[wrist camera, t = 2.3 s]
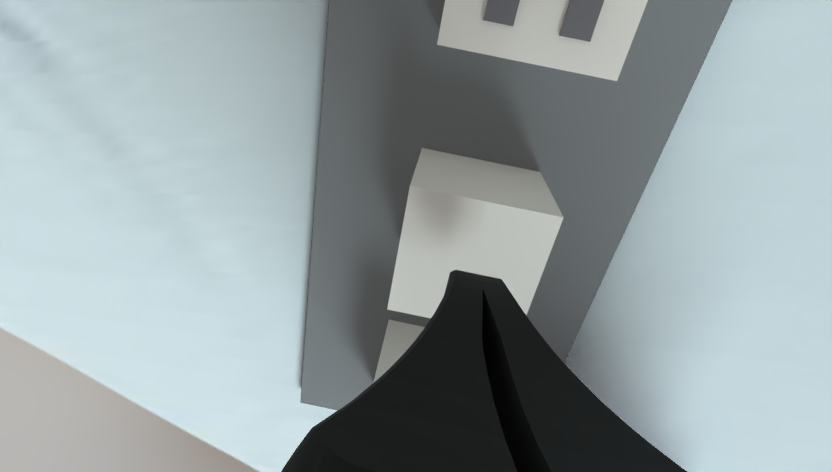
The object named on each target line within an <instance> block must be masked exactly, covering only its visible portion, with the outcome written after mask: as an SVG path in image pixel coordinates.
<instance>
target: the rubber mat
mask: <svg viewBox="0 0 832 472" xmlns="http://www.w3.org/2000/svg"><path fill="white" fill-rule="evenodd" d="M731 2H732V0H648V1H647V4H646V7H645V9H644V12H643V15H642V17H641V20H640V22H639V25H638V28H637V30H636V33H635V35H634V38H633V41H632V43H631V46H630V48H629V51H628V54H627V56H626V59H625V62H624V64H623V67H622V69H621V72H620V75H619V77H618V80H617V81H613V80H608V79H603V78H599V77H594V76H589V75H584V74H579V73H574V72H569V71H564V70H559V69H554V68H549V67H544V66H539V65H535V64H530V63H525V62H520V61H515V60H510V59H505V58H500V57H495V56H490V55H485V54H480V53H476V52H471V51H466V50H461V49H456V48H451V47H446V46H441V45H437V42H438V36H439V31H440V25H441V20H442V15H443V9H444V4H445V0H329V10H328V24H327V38H326V52H325V66H324V80H323V94H322V108H321V122H320V136H319V150H318V164H317V178H316V192H315V206H314V220H313V234H312V248H311V262H310V276H309V290H308V304H307V318H306V332H305V346H304V360H303V374H302V388H301V403H305V404H310V405H315V406H320V407H325V408H329V409H334V410H339V409H341V408H342V407H344V406H345V405H347V404H348V403H349V402H351V401H352V400H353V399H355V398H356V397H357V396H358V395H359V394H361V393H362V392H363V391H364V390H366V389H367V388H368V387H369V386H370V385H372V384H373V382H374V378H375V374H376V370H377V366H378V362H379V358H380V353H381V349H382V345H383V341H384V337H385V333H386V329H387V325H388V321H389V320H394V321H398V322H403V323H408V324H413V325H418V326H423V327H425V326H426V325H427V323H428V322H429V321H430V319H431V318H426V317H422V316H417V315H412V314H407V313H402V312H397V311H393V310H388V309H387V308H388V302H389V297H390V291H391V286H392V281H393V275H394V270H395V264H396V259H397V253H398V248H399V242H400V237H401V231H402V226H403V221H404V215H405V210H406V204H407V199H408V193H409V188H410V184H411V181H412V178H413V175H414V171H415V168H416V165H417V162H418V159H419V156H420V153H421V149H422V148H425V149H430V150H435V151H440V152H445V153H450V154H455V155H459V156H464V157H469V158H474V159H479V160H484V161H489V162H494V163H499V164H503V165H508V166H513V167H518V168H523V169H528V170H533V171H538V172H541V174H542V176H543V178H544V180H545V182H546V184H547V186H548V188H549V190H550V192H551V194H552V196H553V198H554V200H555V202H556V203H557V205H558V207H559V209H560V211H561V213H562V215H563V217H564V218H563V221H562V223H561V226H560V229H559V231H558V234H557V236H556V239H555V242H554V244H553V247H552V250H551V252H550V255H549V257H548V260H547V263H546V265H545V268H544V271H543V273H542V276H541V278H540V281H539V284H538V286H537V289H536V291H535V294H534V297H533V299H532V302H531V305H530V307H529V310H528V312H527V315H526V316H527V317H528V319H529V320H530V321H531V323H532V324H533V326H534V327H535V328H536V330H537V331H538V332H539V333H540V335H541V336H542V337H543V339H544V340H545V341H546V342H547V344H548V345H549V346H550V347H551V349H552V350H553V351H554V352H555V353H556V355H557V356H558V357H559V358H560V359H561V361H562V362H563V363H564V361H565V359H566V357H567V355H568V353H569V350H570V348H571V346H572V344H573V342H574V340H575V338H576V335H577V333H578V331H579V329H580V327H581V325H582V322H583V320H584V318H585V316H586V314H587V312H588V310H589V307H590V305H591V303H592V301H593V299H594V297H595V295H596V292H597V290H598V288H599V286H600V284H601V282H602V280H603V277H604V275H605V273H606V271H607V269H608V267H609V264H610V262H611V260H612V258H613V256H614V254H615V252H616V249H617V247H618V245H619V243H620V241H621V239H622V237H623V234H624V232H625V230H626V228H627V226H628V224H629V222H630V219H631V217H632V215H633V213H634V211H635V209H636V206H637V204H638V202H639V200H640V198H641V196H642V194H643V191H644V189H645V187H646V185H647V183H648V181H649V179H650V176H651V174H652V172H653V170H654V168H655V166H656V164H657V161H658V159H659V157H660V155H661V153H662V151H663V148H664V146H665V144H666V142H667V140H668V138H669V136H670V133H671V131H672V129H673V127H674V125H675V123H676V121H677V118H678V116H679V114H680V112H681V110H682V108H683V105H684V103H685V101H686V99H687V97H688V95H689V93H690V90H691V88H692V86H693V84H694V82H695V80H696V78H697V75H698V73H699V71H700V69H701V67H702V65H703V63H704V60H705V58H706V56H707V54H708V52H709V50H710V47H711V45H712V43H713V41H714V39H715V37H716V35H717V32H718V30H719V28H720V26H721V24H722V22H723V20H724V17H725V15H726V13H727V11H728V9H729V7H730V5H731Z"/></svg>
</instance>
